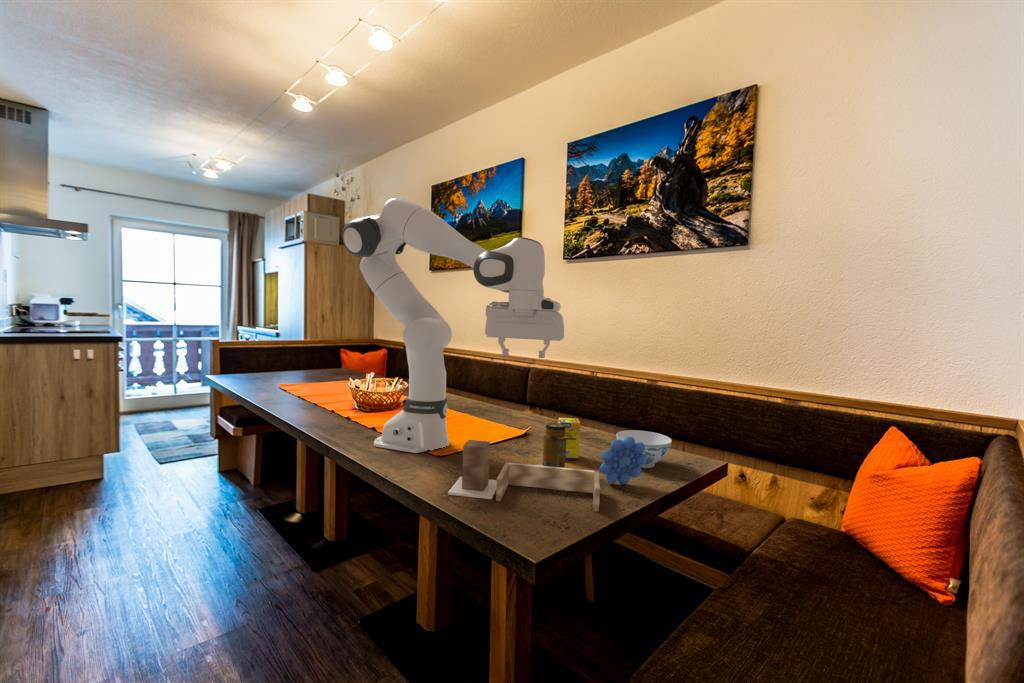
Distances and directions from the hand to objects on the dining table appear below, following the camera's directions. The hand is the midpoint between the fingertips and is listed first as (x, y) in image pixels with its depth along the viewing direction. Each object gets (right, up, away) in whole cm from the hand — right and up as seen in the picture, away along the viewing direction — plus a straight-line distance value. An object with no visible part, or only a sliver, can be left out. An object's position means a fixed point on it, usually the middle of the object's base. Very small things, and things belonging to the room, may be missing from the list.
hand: (523, 356), depth 116 cm
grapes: (+24, -31, -4) cm, 40 cm away
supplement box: (+13, -30, +15) cm, 36 cm away
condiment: (+8, -30, +4) cm, 32 cm away
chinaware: (+34, -31, +12) cm, 47 cm away
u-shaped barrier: (+5, -31, -14) cm, 34 cm away
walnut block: (-11, -30, -11) cm, 34 cm away
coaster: (-11, -30, -11) cm, 34 cm away
